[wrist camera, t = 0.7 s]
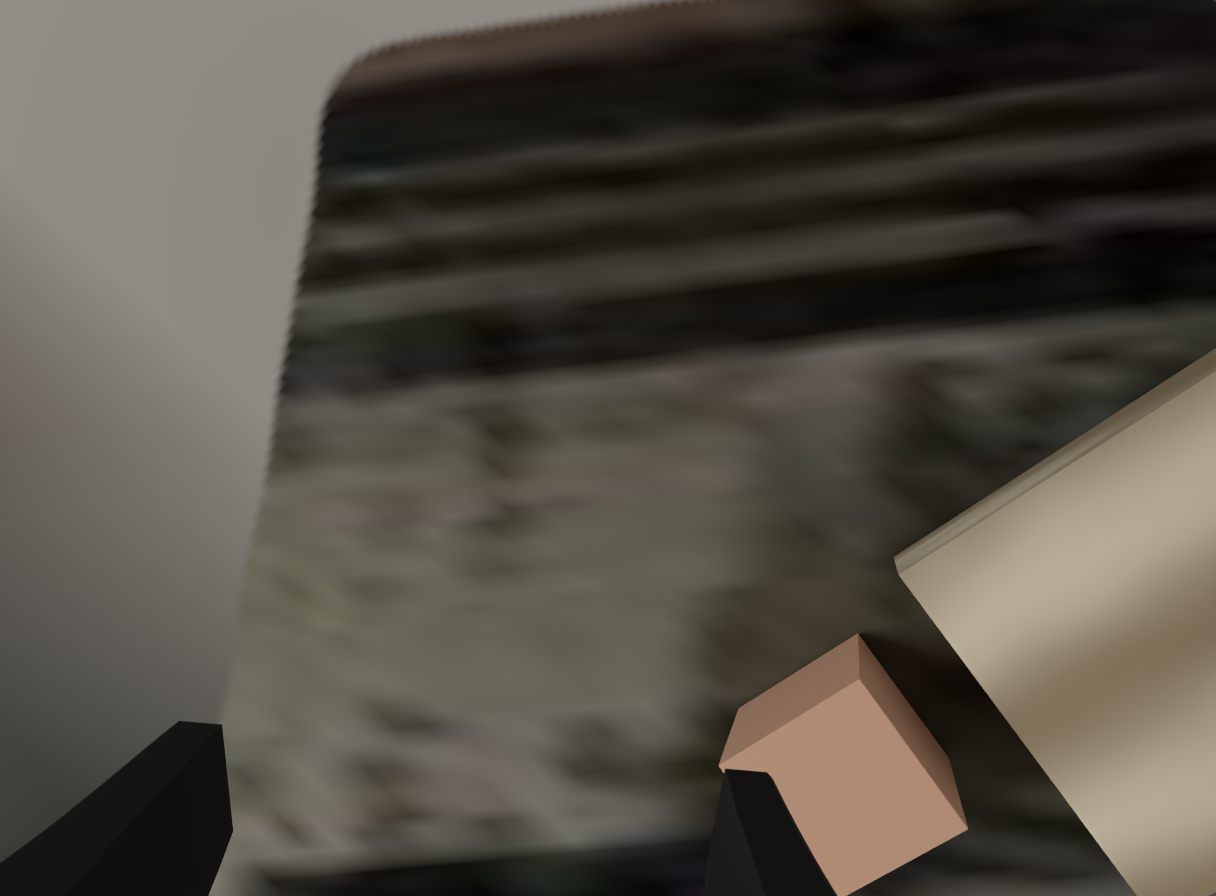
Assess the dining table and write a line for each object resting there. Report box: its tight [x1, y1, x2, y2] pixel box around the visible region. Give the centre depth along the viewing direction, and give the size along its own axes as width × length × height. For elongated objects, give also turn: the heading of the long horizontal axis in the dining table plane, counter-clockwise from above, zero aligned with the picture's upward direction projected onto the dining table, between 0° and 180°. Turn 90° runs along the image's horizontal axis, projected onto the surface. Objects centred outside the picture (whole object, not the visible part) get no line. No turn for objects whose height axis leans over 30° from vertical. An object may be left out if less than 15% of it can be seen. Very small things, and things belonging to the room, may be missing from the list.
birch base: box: [894, 348, 1216, 896], centre depth 26 cm, size 12×12×3 cm
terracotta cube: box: [719, 634, 968, 896], centre depth 28 cm, size 5×5×5 cm
